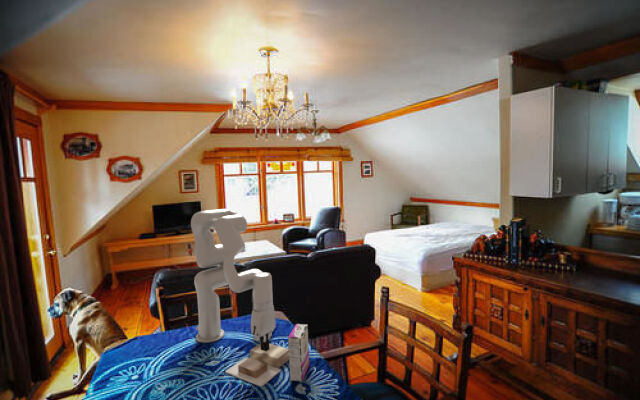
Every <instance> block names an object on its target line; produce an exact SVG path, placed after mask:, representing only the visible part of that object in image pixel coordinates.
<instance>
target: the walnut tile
mask: <svg viewBox="0 0 640 400" xmlns="http://www.w3.org/2000/svg"><path fill="white" fill-rule="evenodd" d="M247 358H248V357H247ZM266 371H267V364H266V363H263V362H260V361H257V360H254V359H251V358H250V357H249V358H248V359H247V360H245V361H244V362H242V363H241V364H239V365H238V372H240V373H243V374H246V375H248V376H251V377H254V378H256V379H257V378H258V377H259V376H260V375H262V374H263V373H264V372H266Z"/></svg>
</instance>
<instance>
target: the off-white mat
mask: <svg viewBox="0 0 640 400" xmlns="http://www.w3.org/2000/svg"><path fill="white" fill-rule="evenodd" d="M247 359H248V357H244V358H243V359H241V360H239V362H237V363H235V364H234V365H232V366H231V367H229V368H228V369H226V370H225V374H228V375H230V376H233V377H235V378H238V379H240V380H242V381H245V382H248V383H250V384H253V385H256V386H258V387H259V388H260V387H264V385H266V384H267V383H268V382H269V381H271V380H272V379H273V378H274V377H276V375H279V373H280V372H281V371H282V370H281V369H280V368H275V367H272V366H269V365H267V371H266V372H264V373H263V374H262V375H260V376H259V377H258V378H257V379H256V378H254V377H251V376H248V375H246V374H243V373H240V372H238V365H239V364H241V363H242V362H244V361H245V360H247Z"/></svg>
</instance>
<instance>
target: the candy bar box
mask: <svg viewBox="0 0 640 400" xmlns="http://www.w3.org/2000/svg"><path fill="white" fill-rule="evenodd" d="M287 342H288V343H287V344H288V348H287V349H289V360H288V363H289V381H292V382H300V383H301V382H303V381H304V380H305V379H304V378H305V377H306V374H307V371H308V370H309V367H310V349H309V329H308V324H305V323H304V324H303V323H296V324H295V325H294V327H293V329H292V330H291V332H290V334H289V335H288V337H287Z"/></svg>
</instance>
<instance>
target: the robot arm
mask: <svg viewBox="0 0 640 400" xmlns="http://www.w3.org/2000/svg"><path fill="white" fill-rule="evenodd" d="M190 227H191V231H192V234H193V237H194V245H195V246H194V248H195V259H196V264H197V266H198V267H199V268H202V269H203V268H204V269H205V268H208V269H206V270H202V271H200V272H198V273H197V274H196V275H195V276H194V281H193V282H194V283H193V284H194V286H195V288H194V289H195V292H196V297H197V310H198V311H197V313H198V315H197V316H198V324H197V326H195V330H196V331H197V332H198V333H197V334H196V336H195V338H196V339H195V340H196V341H197V342H199V343H205V344H207V343H213V342H217V341H219V340H220V339H222V338H223V337H224V336H225V331H224V329H222V328H221V327H222V325H221V310H220V309H221V308H220V297H219V295H218V294H217V293H216V292H215V290H216V289H218V288H219V289H220V288H221V287H225V286H229V289H230V290H231V291H232V292H233V293H237V294H238V293H243V292H245V291H249V290H251V289H252V296H253V305H254V310H253V309H252V311H251V316H250V317H251V318H250V334H251V335H252V336H253V337H254V338H253V341H256V342H257V341H259V342H260V343H259V344H261V350H263V351H268V350H269V343H270V339H271V336H272V335H271V333H273V332H274V331H275V328H276V325H277V324H276V313H275V307H274V303H273V302H274V300H273V299H274V298H273V297H274V296H273V279H272V278H273V276H272V275H271V273H270V272H265V271H262V270H260V269H258V268H251V269H247V270H244V271H240V272H238V271H237V269H236V268H235V264H234V263H235V257H236V256H237V255H239V254H240V253H241V252H242V251H243V250H244V249H245V248H246V244H245V241H244V240H243V239H244V238H243V237H242V236H241V233H245V232H246V231H247V229H248V222H247V219H246V218H245V217H244V215H242V214H241V213H238V212H235V211H234V210H231V209H227V208H219V209H218V208H217V209H209V210H208V209H207V210H201V211H198V212H195V213H194V214H193V215H192V217H191V220H190ZM211 229H214V230H215V232H216V235H217V237H218V239H219V241H220V243H219V244H218V243H217V244H216V243H215V237H214V236H215V235H214V234H213V233H212V231H211ZM214 266H217V267H214ZM210 267H214V268H210ZM253 305H252V306H253ZM270 335H271V336H270ZM262 336H263V337H262Z"/></svg>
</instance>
